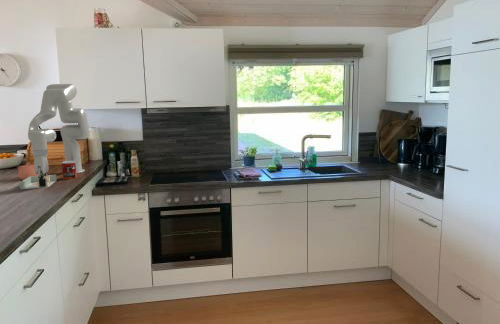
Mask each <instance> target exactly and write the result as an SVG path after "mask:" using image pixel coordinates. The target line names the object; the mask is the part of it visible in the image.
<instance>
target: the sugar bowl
mask: <svg viewBox="0 0 500 324" xmlns="http://www.w3.org/2000/svg"><path fill="white" fill-rule="evenodd" d="M17 171H18V173H17V176H18V179H19V180H22V181H23V180H25V179H26V178H28V177H30V176H38V174H35V168H34V164H31V162H26V163H25V164H24V165H19V166H17Z"/></svg>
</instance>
